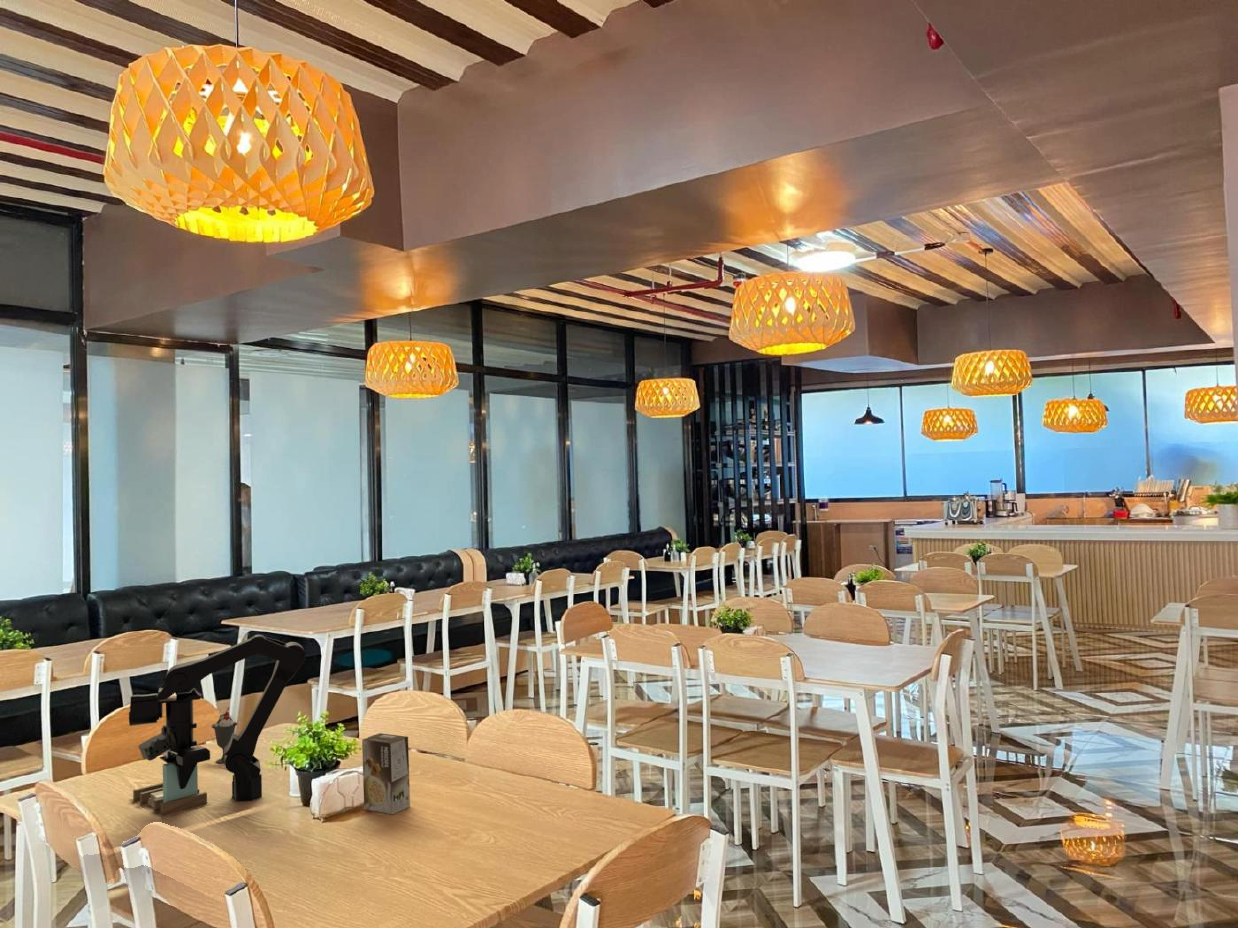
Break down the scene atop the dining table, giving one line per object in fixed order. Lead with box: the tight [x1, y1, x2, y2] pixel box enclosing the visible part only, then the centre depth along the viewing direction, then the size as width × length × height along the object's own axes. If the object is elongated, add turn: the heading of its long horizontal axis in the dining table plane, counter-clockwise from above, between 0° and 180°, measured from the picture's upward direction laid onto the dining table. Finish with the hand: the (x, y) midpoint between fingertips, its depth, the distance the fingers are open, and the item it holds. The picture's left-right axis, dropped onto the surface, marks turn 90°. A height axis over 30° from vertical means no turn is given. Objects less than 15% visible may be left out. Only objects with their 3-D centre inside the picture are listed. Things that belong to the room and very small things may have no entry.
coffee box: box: [361, 732, 411, 815], centre depth 206 cm, size 9×6×16 cm
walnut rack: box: [129, 782, 212, 819], centre depth 211 cm, size 20×11×4 cm, turn 49°
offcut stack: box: [148, 791, 163, 807], centre depth 212 cm, size 5×8×2 cm, turn 139°
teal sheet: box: [162, 763, 199, 803], centre depth 208 cm, size 2×7×10 cm, turn 139°
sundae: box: [211, 706, 239, 764], centre depth 248 cm, size 7×7×15 cm
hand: (180, 787), depth 208 cm, fingers closed on teal sheet, 2 cm apart
